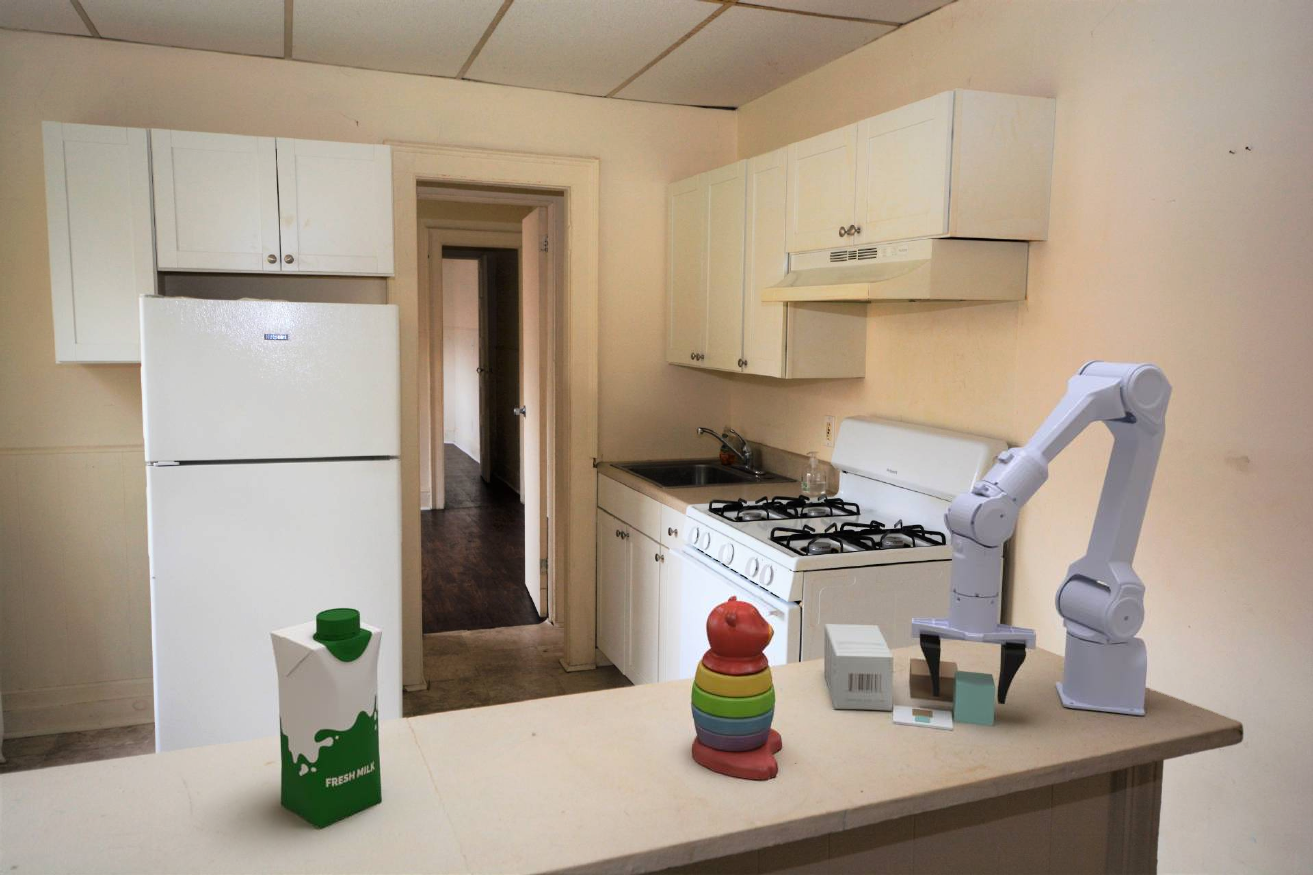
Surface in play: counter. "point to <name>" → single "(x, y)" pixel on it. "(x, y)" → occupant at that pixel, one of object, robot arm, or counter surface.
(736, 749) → the stacking bear
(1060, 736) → the counter surface
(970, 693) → the teal block
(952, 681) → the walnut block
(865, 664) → the supplement box
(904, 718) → the page
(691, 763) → the counter surface
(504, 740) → the counter surface
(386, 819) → the counter surface
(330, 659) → the milk carton
